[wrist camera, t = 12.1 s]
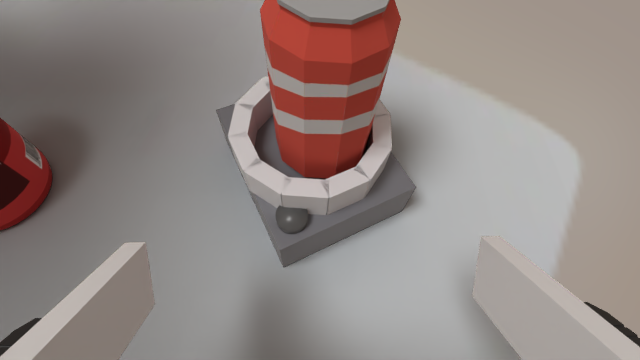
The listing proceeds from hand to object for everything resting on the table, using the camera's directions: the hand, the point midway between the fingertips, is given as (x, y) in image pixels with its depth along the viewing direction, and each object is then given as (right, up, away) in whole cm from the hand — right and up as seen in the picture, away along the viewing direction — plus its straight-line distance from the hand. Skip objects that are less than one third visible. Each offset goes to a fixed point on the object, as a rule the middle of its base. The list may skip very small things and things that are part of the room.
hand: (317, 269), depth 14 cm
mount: (-1, +4, +14) cm, 15 cm away
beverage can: (0, +6, +11) cm, 13 cm away
